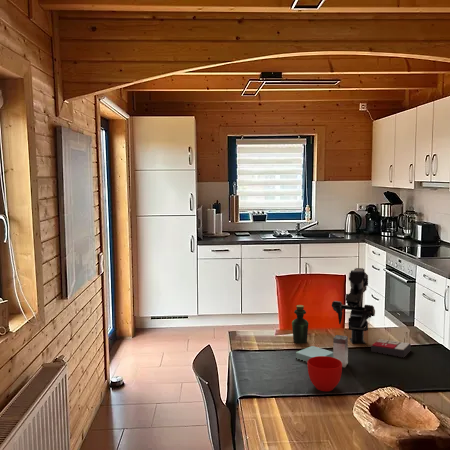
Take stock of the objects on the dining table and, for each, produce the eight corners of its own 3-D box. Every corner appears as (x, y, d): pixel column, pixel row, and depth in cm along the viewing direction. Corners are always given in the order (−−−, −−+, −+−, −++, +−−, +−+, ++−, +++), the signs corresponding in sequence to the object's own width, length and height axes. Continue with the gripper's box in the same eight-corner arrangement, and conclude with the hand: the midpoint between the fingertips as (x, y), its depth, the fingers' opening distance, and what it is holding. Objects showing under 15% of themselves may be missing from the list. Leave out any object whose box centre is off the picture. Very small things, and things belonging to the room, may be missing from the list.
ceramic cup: (344, 379, 187) (344, 354, 187) (340, 397, 172) (340, 370, 171) (311, 375, 192) (311, 351, 191) (304, 392, 176) (304, 366, 175)
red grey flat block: (378, 338, 226) (410, 342, 218) (378, 346, 227) (411, 351, 218) (370, 344, 218) (404, 348, 209) (371, 353, 218) (404, 358, 209)
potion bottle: (311, 340, 234) (311, 305, 232) (304, 345, 227) (304, 308, 225) (295, 338, 238) (295, 303, 237) (289, 342, 231) (289, 306, 230)
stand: (312, 352, 218) (312, 345, 218) (334, 358, 209) (334, 352, 209) (295, 358, 210) (295, 352, 210) (317, 366, 201) (317, 359, 201)
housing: (336, 361, 206) (336, 334, 205) (347, 363, 204) (347, 336, 203) (333, 365, 202) (333, 338, 200) (344, 367, 199) (345, 339, 198)
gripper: (332, 284, 218) (325, 314, 210) (374, 288, 209) (368, 320, 201) (337, 295, 226) (330, 325, 218) (377, 300, 217) (372, 331, 209)
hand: (349, 325), depth 211 cm, fingers open, 9 cm apart
